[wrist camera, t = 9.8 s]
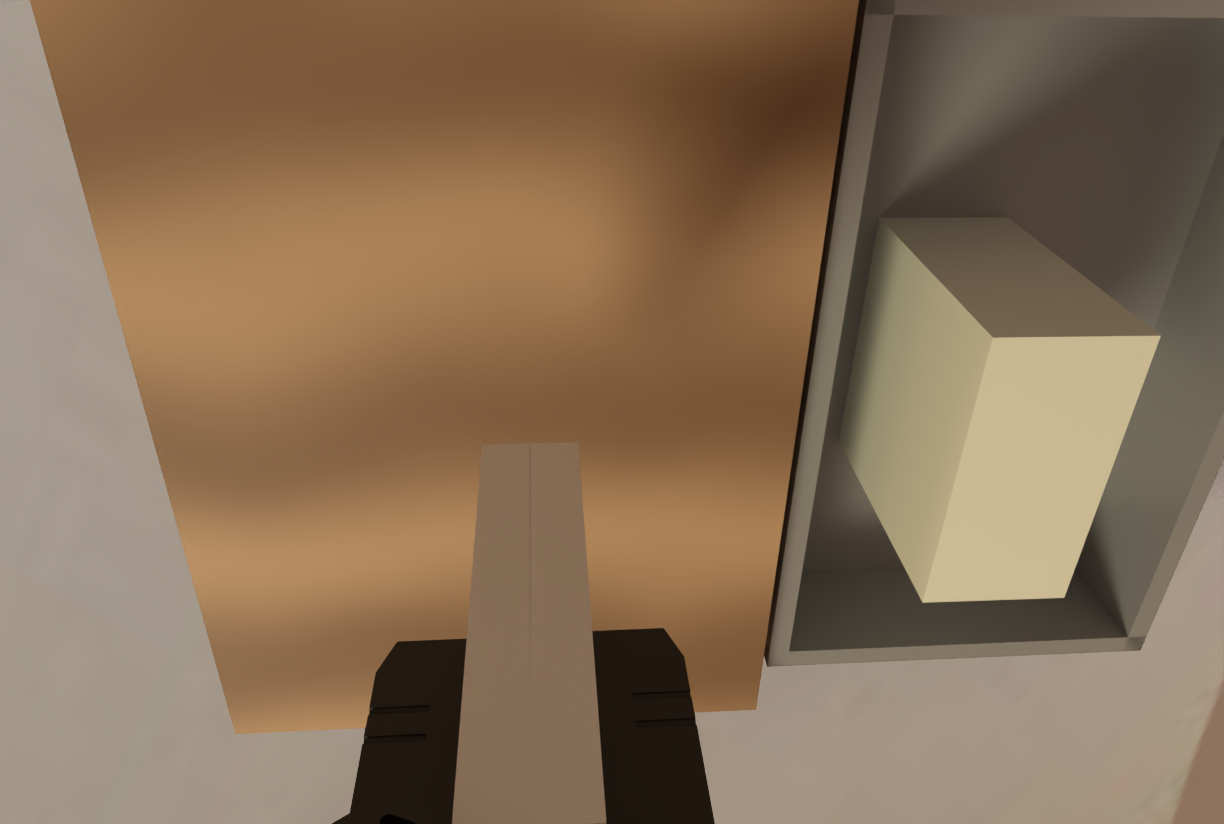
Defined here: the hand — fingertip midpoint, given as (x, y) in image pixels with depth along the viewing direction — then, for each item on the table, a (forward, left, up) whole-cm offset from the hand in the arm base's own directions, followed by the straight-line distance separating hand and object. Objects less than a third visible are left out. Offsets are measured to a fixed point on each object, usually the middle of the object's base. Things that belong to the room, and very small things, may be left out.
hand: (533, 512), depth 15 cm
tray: (+1, +11, -8) cm, 13 cm away
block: (+1, +8, -5) cm, 9 cm away
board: (+1, -1, -8) cm, 8 cm away
